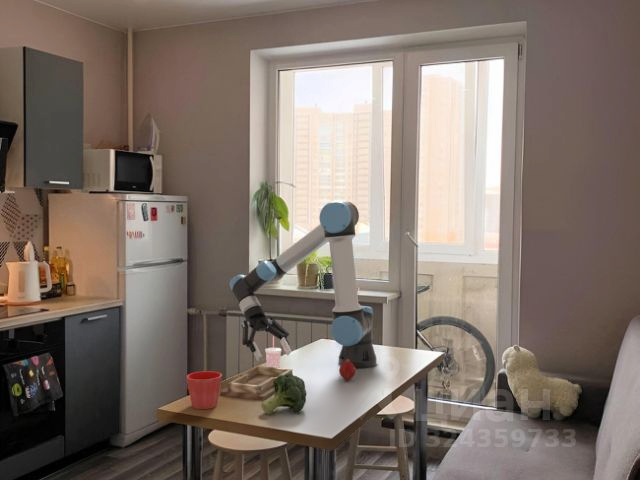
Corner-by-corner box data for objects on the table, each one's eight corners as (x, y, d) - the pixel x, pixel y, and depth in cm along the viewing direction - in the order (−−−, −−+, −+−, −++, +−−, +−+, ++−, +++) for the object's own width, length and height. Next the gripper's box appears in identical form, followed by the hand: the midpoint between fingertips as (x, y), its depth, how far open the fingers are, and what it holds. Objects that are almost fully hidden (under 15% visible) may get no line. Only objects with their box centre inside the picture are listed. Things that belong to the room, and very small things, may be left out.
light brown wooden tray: (294, 379, 238) (294, 369, 238) (264, 400, 214) (264, 388, 214) (254, 375, 244) (254, 365, 244) (220, 394, 219) (220, 383, 219)
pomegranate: (335, 380, 238) (336, 358, 237) (346, 377, 242) (346, 356, 242) (348, 384, 234) (348, 361, 233) (358, 380, 238) (358, 358, 238)
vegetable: (252, 399, 207) (291, 374, 213) (275, 433, 202) (314, 406, 208) (253, 386, 197) (294, 359, 203) (277, 421, 192) (318, 393, 198)
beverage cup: (266, 370, 251) (266, 334, 250) (282, 371, 251) (282, 334, 250) (264, 375, 245) (264, 337, 244) (280, 375, 245) (280, 337, 244)
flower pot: (183, 402, 211) (183, 372, 210) (217, 399, 215) (217, 369, 214) (190, 412, 201) (190, 381, 200) (225, 408, 205) (225, 377, 205)
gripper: (274, 313, 267) (296, 356, 257) (220, 319, 251) (242, 366, 241) (282, 301, 263) (305, 345, 252) (228, 307, 247) (250, 354, 236)
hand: (274, 355), depth 246 cm, fingers open, 13 cm apart
